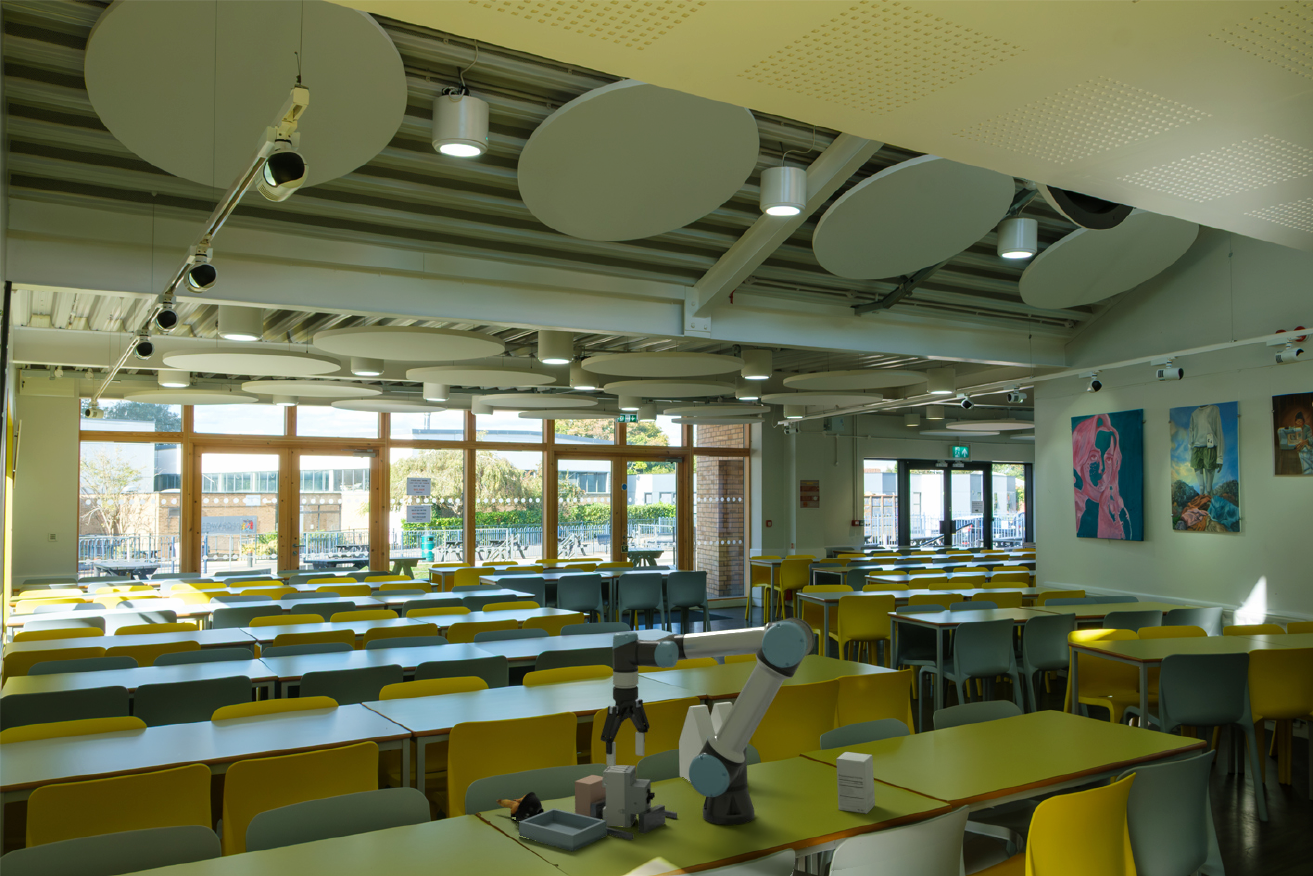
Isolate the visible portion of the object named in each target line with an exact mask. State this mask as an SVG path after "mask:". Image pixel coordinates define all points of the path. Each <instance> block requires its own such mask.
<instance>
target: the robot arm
mask: <svg viewBox="0 0 1313 876" xmlns="http://www.w3.org/2000/svg"><path fill="white" fill-rule="evenodd" d="M814 645H815V634H814V630H813V628H812V627H811V626H810V624H809V623H808V622H807V621H806V620H804V619H801V618H798V617H789V618H785V619H782V620H778V621H777V620H776V621H771V622H767V623H766V624H765V625H764V626H754V627H744V628H733V629H723V630H714V631H713V630H712V631H705V632H703V631H702V632H691V633H686V634H685V633H683V634H677V633H673V634H668V635H666V636H665V637H662V638H658V639H655V640H654V639H653V640H651V639H650V640H649V639H648V640H646V639H640V638H639V634H638V633H637V632H635V631H633V632H632V631H620V632H616V633H615V634H613V638H612V685H613V687H612V699H613V700H614V702H615V704H614V705H608V706H607V714H606V718H605V722H604V723H603V724H604V725H603V728H602V732H601V734H600V741H601V742H605V754H606V766H616V765H617V764H616V762H617V761H616V757H617V756H616V754H617V753H616V752H617V751H616V748H617V747H616V743H617V742H615V739H616V737H617V734H618V732H619V730H620V727H621V725H622V724H623V722H625V720H627V719H630V721H631V723H632V724H633V726H634V727H635V730H636V732H635V755H636V756H641V757H644V756H645V742H646V741H645V740H646V739H645V738H646V734H647V733H648V731H649V729H650V723H649V720H648V718H647V717H648V716H647V713H646V711H645V708H644V700H643V699H641V698H639V686H638V685H639V667H651V668H652V667H653V668H662V669H664V668H674V667H675V666H676V665H677V663H678V661H684V660H686V661H687V660H692V659H705V658H716V657H717V658H718V657H727V656H728V657H729V656H743V655H753V654H755V658H756V661H757V663H756V665H755V667H754V668H753V670H752V671H751V673H750V675H749V677H748V679H747V681H746V683H745V684H744V685H743V687H742V689H741V691H740V693H739V694H738V696H737V698H736V700H735V701H734V703H733V704H732V705H733V707H732V708H731V710H730V712H729V714H728V715H727V717H726V719H725V721H724V722H723V724H722V726H721V728H720V729H719V731H718V733H717V734H716V735H710V736H708V738H707V741H706V743H705V744H704V746H703V748H702V750H701V751H700V753H699V755H698V756H696V757H695V758H694V759H693V760H692V762H691V764H690V767H689V778H690V782H689V783H690V784H691V785H692V787H693V789H694V790H695V791H697V793H698V794H700V795H702V796H704V797H705V799H704V804H703V806H702V818H703V819H704V820H705V821H707V822H709V823H712V824H717V825H723V824H725V825H727V826H729V825H731V826H732V825H733V824H736V825H742V823H743V824H746V822H747V823H749V822H751V821H753V820H754V819H755V807H754V805H753V802H752V798H751V795H750V793H749V792H750V791H749V790H748V789H749V788H748V766H747V765H748V756H747V755H748V754H747V753H748V752H747V750H748V747H747V745H748V744H749V742H750V740H751V738H752V737H753V735H754V733H755V732H756V730H757V728H758V726H759V724H760V723H761V721H762V720H763V718H764V716H765V715H766V713H767V711H768V709H769V707H770V706H771V704H772V702H773V700H774V699H775V697H776V695H777V693H778V692H779V690H780V688H781V686H782V685H783V683H784V681H785V680H788V679H792V678H793V677H794V675H795V674H796V672H797V670H798V668H799V666H800V665H801V663H802V662H803V660H804V658H805V657H807V656H808V655H809V654H810V653H811V651H812V650H813V648H814ZM645 733H646V734H645ZM725 825H724V826H725Z"/></svg>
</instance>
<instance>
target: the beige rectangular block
mask: <svg viewBox="0 0 1313 876" xmlns="http://www.w3.org/2000/svg"><path fill="white" fill-rule="evenodd" d="M602 779H603V776H601V775H595V774H590V775H589V776H585V777H583V778H581V779H578V780H575V781H574V813H576V814H580V815H584V816H588V817H591V803H592V802H595V801H597V800H600V799H602V798H605V797H606V787H603V785H602ZM604 784H605V782H604Z"/></svg>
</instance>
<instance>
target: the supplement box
mask: <svg viewBox="0 0 1313 876" xmlns="http://www.w3.org/2000/svg"><path fill="white" fill-rule="evenodd" d="M873 760H874V759H873V755H872V754H866V753H858V752H849V751H845V752H843V753H842V754H840V755H839V756H838V757H836V777H837V778H836V782H837V801H838V802H837V803H838V804H837V805H838V810H839V811H846V812H854V813H861V814H865V815H866V814H868V813H870V811H871V810H872V809H873V808H874V807H875V805H876V799H875V780H874V762H873Z"/></svg>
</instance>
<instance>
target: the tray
mask: <svg viewBox="0 0 1313 876" xmlns="http://www.w3.org/2000/svg"><path fill="white" fill-rule="evenodd" d="M607 827H608V826H607V821H605V820H603V819H602V820H601V819H597V818H592V817H588V816H584V815H580V814H576V813H575V812H571V811H567V810H562V809H559V808H551V809H549V810H547V811H544V812H543V813H541V814H538V815H535V816H533V817H530V818H528V819H525V820H523V821H520V822H518V836H519V835H520V836H523V837H526V838H529V839H532V840H536V841H538V842H537V843H540V842H542V843H541V844H543V843H545V844H544V845H547V844H548V846H550V847H554V846H557V847H556V848H558V847H559V848H558V849H562V848H563V850H566V851H570V852H575V851H578V850H579V849H582V848H583V846H584V847H586V846H588V845H590V844H593V843H594V842H596V841H599V840H601V839H603V838H605V837H607V836H608V834H607ZM606 835H607V836H606ZM602 837H603V838H602ZM529 839H528V840H529ZM532 840H531V841H532ZM536 841H535V842H536ZM581 847H582V848H581Z"/></svg>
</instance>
